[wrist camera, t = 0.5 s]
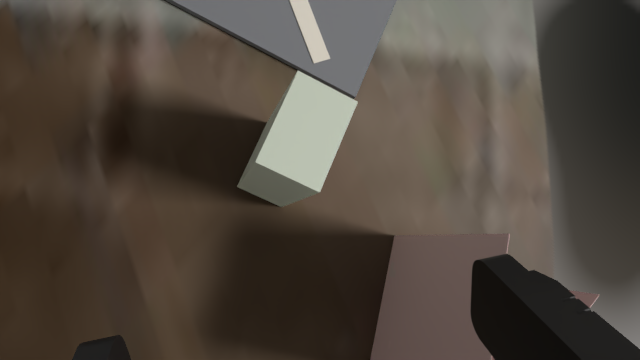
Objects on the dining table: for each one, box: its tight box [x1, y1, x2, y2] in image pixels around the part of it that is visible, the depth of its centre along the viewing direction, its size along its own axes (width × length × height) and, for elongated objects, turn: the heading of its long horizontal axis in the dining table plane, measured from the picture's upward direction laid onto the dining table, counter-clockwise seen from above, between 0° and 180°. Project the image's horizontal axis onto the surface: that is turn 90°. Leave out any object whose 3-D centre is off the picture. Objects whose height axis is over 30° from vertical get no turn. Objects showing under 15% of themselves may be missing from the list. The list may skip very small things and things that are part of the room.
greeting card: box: [370, 234, 599, 360], centre depth 31 cm, size 11×7×15 cm, turn 132°
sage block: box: [237, 71, 358, 207], centre depth 31 cm, size 4×6×12 cm, turn 157°
